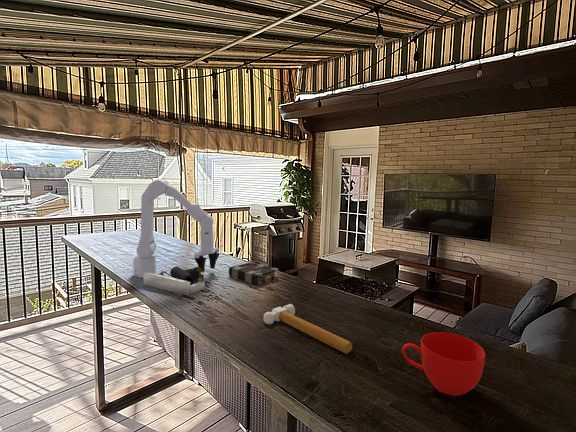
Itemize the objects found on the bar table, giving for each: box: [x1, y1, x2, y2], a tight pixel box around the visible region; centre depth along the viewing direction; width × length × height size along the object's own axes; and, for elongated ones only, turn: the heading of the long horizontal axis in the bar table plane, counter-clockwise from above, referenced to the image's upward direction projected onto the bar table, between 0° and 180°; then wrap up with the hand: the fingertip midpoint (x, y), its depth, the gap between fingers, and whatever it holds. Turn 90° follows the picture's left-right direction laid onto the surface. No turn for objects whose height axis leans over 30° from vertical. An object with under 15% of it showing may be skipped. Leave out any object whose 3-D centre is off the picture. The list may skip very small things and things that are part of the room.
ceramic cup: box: [401, 331, 486, 397], centre depth 76 cm, size 13×17×10 cm
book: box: [228, 261, 279, 286], centre depth 151 cm, size 15×25×5 cm, turn 49°
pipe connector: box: [169, 266, 205, 286], centre depth 147 cm, size 12×5×15 cm
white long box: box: [143, 270, 206, 297], centre depth 139 cm, size 25×10×5 cm, turn 61°
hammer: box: [263, 303, 353, 354], centre depth 101 cm, size 12×4×30 cm
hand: (207, 270), depth 156 cm, fingers open, 6 cm apart
